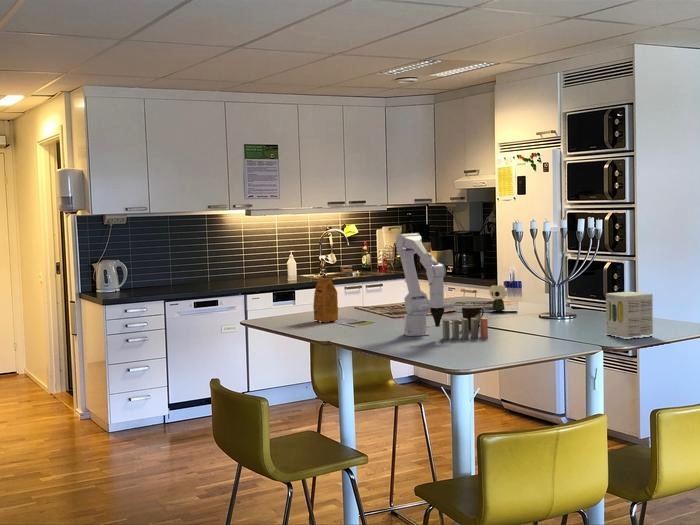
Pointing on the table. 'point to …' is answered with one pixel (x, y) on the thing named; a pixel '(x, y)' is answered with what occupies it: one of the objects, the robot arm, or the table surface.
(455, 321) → the domino
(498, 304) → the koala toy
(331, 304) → the coffee package
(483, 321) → the red domino
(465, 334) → the domino
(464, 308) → the coffee mug
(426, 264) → the robot arm
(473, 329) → the domino
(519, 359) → the table surface
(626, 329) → the supplement box
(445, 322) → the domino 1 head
